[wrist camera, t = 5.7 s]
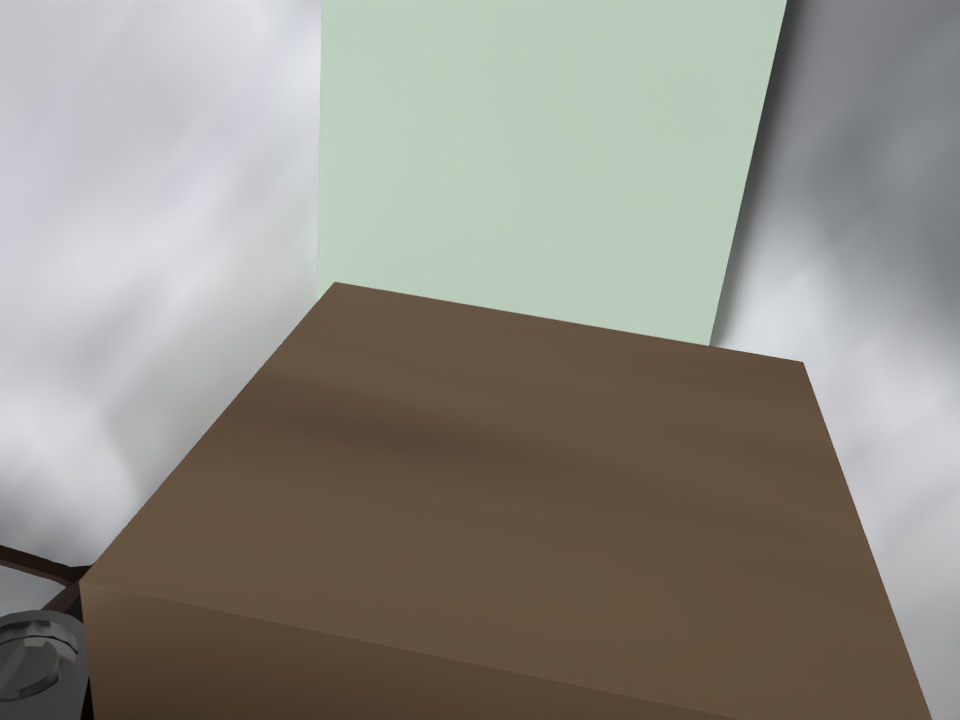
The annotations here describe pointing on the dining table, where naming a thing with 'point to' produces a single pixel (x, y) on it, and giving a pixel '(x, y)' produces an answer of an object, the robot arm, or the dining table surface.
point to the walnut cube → (499, 537)
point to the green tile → (542, 153)
